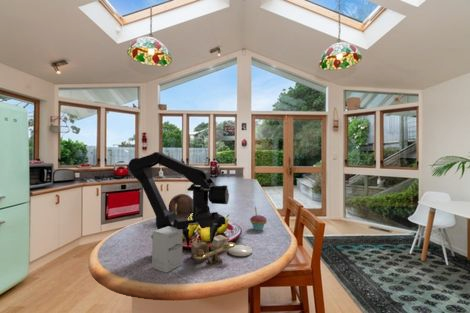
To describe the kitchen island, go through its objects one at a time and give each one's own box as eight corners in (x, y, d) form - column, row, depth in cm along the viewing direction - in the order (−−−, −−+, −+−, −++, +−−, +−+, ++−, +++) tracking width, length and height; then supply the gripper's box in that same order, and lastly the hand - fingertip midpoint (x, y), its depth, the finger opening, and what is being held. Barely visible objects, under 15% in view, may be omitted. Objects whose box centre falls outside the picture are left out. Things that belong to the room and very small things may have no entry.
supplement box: (166, 273, 81) (167, 234, 81) (151, 267, 85) (151, 230, 85) (182, 265, 87) (183, 228, 87) (167, 260, 91) (168, 225, 91)
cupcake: (247, 230, 128) (248, 206, 128) (253, 225, 136) (253, 203, 136) (264, 232, 125) (264, 208, 125) (268, 227, 133) (268, 205, 133)
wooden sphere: (185, 215, 157) (185, 191, 157) (199, 220, 147) (200, 194, 146) (163, 219, 146) (163, 193, 146) (177, 225, 136) (178, 197, 136)
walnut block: (195, 261, 90) (195, 247, 90) (191, 256, 95) (191, 243, 95) (208, 259, 93) (208, 245, 93) (203, 254, 97) (204, 241, 97)
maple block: (217, 253, 98) (217, 240, 98) (210, 249, 102) (210, 237, 102) (227, 250, 101) (227, 238, 101) (220, 246, 105) (220, 234, 105)
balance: (196, 269, 85) (196, 252, 84) (192, 263, 88) (192, 248, 88) (236, 260, 92) (237, 245, 92) (231, 256, 96) (231, 241, 96)
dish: (234, 259, 93) (235, 256, 93) (223, 250, 101) (224, 247, 101) (256, 254, 97) (256, 251, 97) (244, 246, 106) (244, 243, 106)
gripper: (181, 209, 82) (181, 257, 82) (232, 205, 91) (231, 248, 91) (173, 203, 92) (172, 245, 92) (219, 199, 101) (219, 238, 101)
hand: (199, 244), depth 94 cm, fingers open, 9 cm apart
